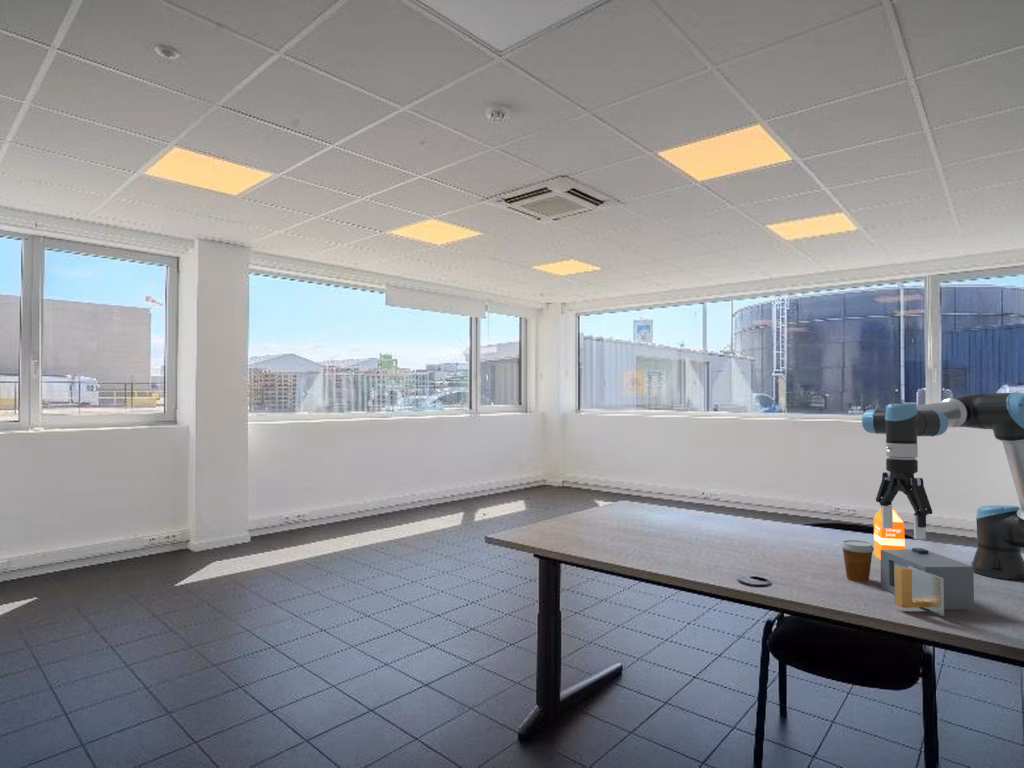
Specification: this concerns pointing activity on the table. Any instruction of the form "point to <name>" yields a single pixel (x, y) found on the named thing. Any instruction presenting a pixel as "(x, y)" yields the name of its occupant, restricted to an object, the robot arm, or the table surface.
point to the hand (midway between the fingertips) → (902, 533)
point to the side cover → (918, 589)
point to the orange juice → (888, 534)
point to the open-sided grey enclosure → (952, 572)
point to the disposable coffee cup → (857, 559)
